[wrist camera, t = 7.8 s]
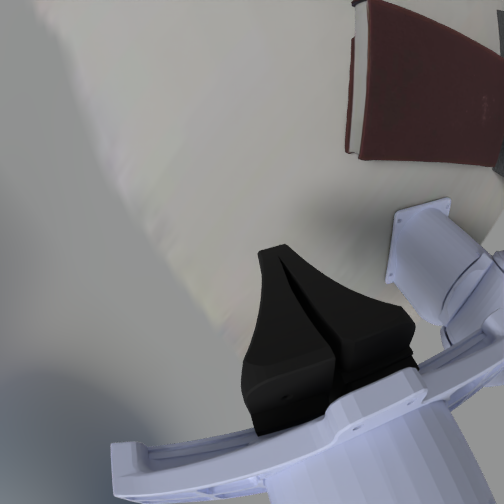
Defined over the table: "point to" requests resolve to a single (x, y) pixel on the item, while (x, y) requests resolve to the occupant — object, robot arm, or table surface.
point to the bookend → (503, 160)
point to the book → (421, 90)
